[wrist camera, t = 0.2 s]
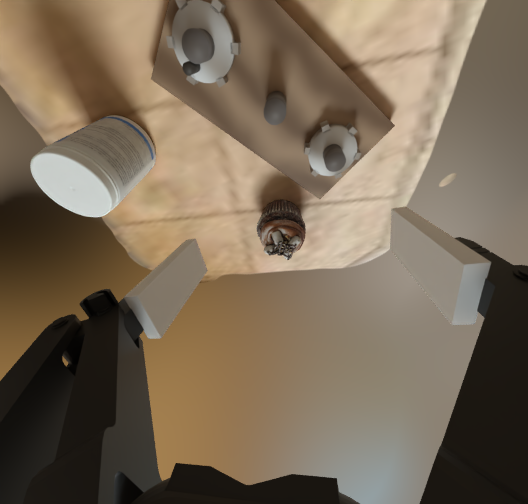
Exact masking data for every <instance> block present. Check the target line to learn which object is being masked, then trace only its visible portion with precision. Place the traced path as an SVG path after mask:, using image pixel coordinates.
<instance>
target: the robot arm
mask: <svg viewBox="0 0 528 504" xmlns="http://www.w3.org/2000/svg"><path fill="white" fill-rule="evenodd" d="M390 250H391V251H392V252H393V253H394V255H395V256H396V257H397V258H398V260H399V261H400V262H401V263H402V264H403V266H404V267H405V268H406V269H407V271H408V272H409V273H410V274H411V276H412V277H413V278H414V279H415V280H416V282H417V283H418V284H419V285H420V287H421V288H422V289H423V290H424V292H425V293H426V294H427V295H428V296H429V298H430V299H431V300H432V301H433V303H434V304H435V305H436V306H437V308H438V309H439V310H440V311H441V312H442V313H443V315H444V316H445V317H446V318H447V320H448V321H449V322H450V323H451V325H462V324H475V321H476V317H477V313H478V312H479V313H480V314H481V315H482V316H484V318H485V319H484V322H483V325H482V327H481V330H480V333H479V336H478V339H477V342H476V345H475V348H474V351H473V354H472V357H471V360H470V362H469V366H468V368H467V371H466V374H465V377H464V380H463V383H462V386H461V389H460V392H459V395H458V398H457V400H456V404H455V406H454V409H453V412H452V415H451V418H450V421H449V424H448V427H447V430H446V433H445V436H444V438H443V441H442V444H441V446H440V448H439V450H438V453H437V456H436V459H435V461H434V464H433V467H432V470H431V473H430V475H429V478H428V481H427V484H426V487H425V491H424V493H423V496H422V499H421V501H420V504H528V266H525V265H512V264H510V263H509V262H507V261H505V260H504V259H502V258H500V257H499V256H497V255H495V254H494V253H492V252H491V253H490V251H489V250H487V249H485V248H482V246H480V245H478V244H477V243H475V242H474V241H471V240H467V239H464V238H461V237H458V238H453V237H452V236H450V235H449V234H447V233H446V232H444V231H443V230H441V229H439V228H438V227H436V226H435V225H433V224H432V223H430V222H429V221H427V220H426V219H424V218H422V217H421V216H419V215H418V214H416V213H415V212H413V211H412V210H410V209H409V208H407V207H400V208H393V209H392V213H391V238H390ZM206 272H207V268H206V265H205V262H204V260H203V257H202V254H201V252H200V249H199V246H198V244H197V241H196V239H190V240H186V241H185V242H184V243H182V244H181V245H180V246H179V247H178V248H177V249H176V250H175V251H174V252H173V253H172V254H170V255H169V256H168V257H167V258H166V259H165V260H164V261H163V262H162V263H161V264H160V265H158V266H157V267H156V268H155V269H154V270H153V271H152V272H151V273H150V274H149V275H148V276H146V277H145V278H144V279H143V280H142V281H141V282H140V283H139V284H138V285H137V286H136V287H134V288H133V289H132V290H131V291H130V292H129V293H128V294H127V295H126V296H125V297H124V298H123V299H122V300H121V301H120V302H119V303H118V301H117V300H116V298H115V297H114V295H113V294H112V292H111V290H110V289H104V290H100V291H98V292H95V293H93V294H91V295H89V296H88V297H86V298H85V299H84V300H83V301H81V303H80V306H81V307H82V309H83V310H84V311H85V313H86V314H87V315H88V317H89V319H87V320H84V321H79V319H78V318H77V316H76V315H73V314H71V315H67V316H65V317H61V318H59V319H57V320H55V321H54V322H53V323H52V324H50V325H49V326H48V327H47V328H45V330H44V331H43V332H42V333H41V334H40V335H39V336H38V338H37V339H36V340H35V341H34V342H33V343H32V345H31V346H30V347H29V348H28V349H27V351H26V352H25V353H24V354H23V355H22V356H21V357H20V359H19V360H18V361H17V362H16V363H15V364H14V366H13V367H12V368H11V369H10V370H9V371H8V373H7V374H6V375H5V376H4V377H3V379H2V380H1V381H0V504H359V503H358V502H356V501H355V500H353V499H352V498H350V497H348V496H346V495H344V494H341V493H340V492H339V491H338V485H337V478H327V477H317V476H306V475H296V474H291V475H287V476H283V477H280V478H276V479H272V480H269V481H265V482H261V483H257V484H253V485H245V484H243V483H241V482H239V481H237V480H235V479H233V478H231V477H229V476H228V475H226V474H224V473H222V472H220V471H218V470H216V469H214V468H212V467H211V466H200V465H191V464H180V463H176V464H175V467H174V469H173V472H172V475H171V477H170V478H168V479H166V480H164V481H162V480H161V478H160V475H159V471H158V466H157V458H156V449H155V441H154V433H153V424H152V417H151V408H150V401H149V392H148V384H147V375H146V368H145V359H144V351H143V342H142V340H141V338H140V337H139V335H140V334H141V333H142V332H143V330H144V332H145V333H146V335H147V337H148V338H149V339H152V338H162V336H163V335H164V333H165V332H166V330H167V329H168V328H169V326H170V325H171V323H172V322H173V320H174V319H175V317H176V316H177V314H178V313H179V311H180V310H181V308H182V307H183V306H184V304H185V303H186V301H187V300H188V298H189V297H190V295H191V294H192V292H193V291H194V289H195V288H196V286H197V285H198V284H199V282H200V281H201V279H202V278H203V276H204V275H205V273H206ZM62 356H63V357H64V358H65V359H66V360H67V361H68V365H67V367H66V366H65V365H64V363H63V361H62Z"/></svg>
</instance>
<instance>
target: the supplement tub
mask: <svg viewBox="0 0 528 504" xmlns="http://www.w3.org/2000/svg"><path fill="white" fill-rule="evenodd" d="M155 161H156V153H155V148H154V145H153V143H152V141H151V139H150V137H149V136H148V135H147V133H146V132H145V131H144V130H143V129H142V128H141V127H140V126H139V125H138V124H136V123H135V122H133V121H132V120H130V119H128V118H125V117H122V116H117V115H110V116H106V117H104V118H102V119H100V120H98V121H96V122H94V123H92V124H90V125H88V126H86V127H84V128H82V129H80V130H78V131H76V132H74V133H72V134H70V135H68V136H66V137H64V138H62V139H60V140H58V141H56V142H54V143H52V144H51V145H49V146H47V147H46V148H44V149H42V150H41V151H40V152H39V153H38V154H36V155H35V156H34V157H33V158H32V160H31V164H30V167H31V172H32V175H33V177H34V179H35V181H36V182H37V184H38V185H39V187H40V188H41V189H42V190H43V191H44V192H45V193H46V194H47V195H48V196H49V197H50V198H51V199H53V200H54V201H55V202H57V203H58V204H59V205H61V206H63V207H64V208H66V209H68V210H70V211H72V212H74V213H77V214H80V215H83V216H88V217H101V216H104V215H106V214H107V213H109V212H110V211H111V210H113V209H114V208H115V207H116V206H117V205H118V204H119V203H120V202H121V201H122V200H123V199H124V198H125V197H126V196H127V195H128V193H129V192H130V191H131V190H132V189H133V188H134V187H135V186H136V185H137V184H138V183H139V182H140V181H141V180H142V179H143V178H144V176H145V175H146V174H147V173H148V172H149V171H150V170H151V169H152V168H153V166H154V164H155Z"/></svg>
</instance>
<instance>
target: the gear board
mask: <svg viewBox="0 0 528 504" xmlns="http://www.w3.org/2000/svg"><path fill="white" fill-rule="evenodd" d="M151 79H152V80H153V81H154V82H156V83H157V84H159V85H160V86H161V87H163V88H164V89H166V90H167V91H168V92H170V93H171V94H173V95H174V96H175V97H177V98H178V99H180V100H181V101H182V102H184V103H185V104H187V105H188V106H189V107H191V108H192V109H194V110H195V111H196V112H198V113H199V114H201V115H202V116H203V117H205V118H206V119H208V120H209V121H211V122H212V123H213V124H215V125H216V126H218V127H219V128H220V129H222V130H223V131H225V132H226V133H227V134H229V135H230V136H232V137H233V138H234V139H236V140H237V141H239V142H240V143H241V144H243V145H244V146H246V147H247V148H248V149H250V150H251V151H253V152H254V153H255V154H257V155H258V156H260V157H261V158H262V159H264V160H265V161H267V162H268V163H269V164H271V165H272V166H274V167H275V168H277V169H278V170H279V171H281V172H282V173H284V174H285V175H286V176H288V177H289V178H291V179H292V180H293V181H295V182H296V183H298V184H299V185H300V186H302V187H303V188H305V189H306V190H307V191H309V192H310V193H312V194H313V195H314V196H316V197H317V198H319V199H321V198H322V197H323V196H324V195H325V194H326V193H327V192H328V191H329V190H330V189H331V188H332V187H333V186H334V185H335V184H336V183H337V182H338V181H339V180H340V179H341V178H342V177H343V176H344V175H345V174H346V173H347V172H348V171H349V170H350V169H351V168H352V167H353V166H354V165H355V164H356V163H357V162H358V161H359V160H360V159H361V158H362V157H363V156H364V155H366V154H367V153H368V152H369V151H370V150H371V149H372V148H373V147H374V146H375V145H376V144H377V143H378V142H379V141H380V140H381V139H382V138H383V137H384V136H385V135H386V134H387V133H388V132H389V131H390V130H391V129H392V128H393V127H394V126H395V125H394V124H393V123H392V122H391V121H390V120H389V119H388V118H387V117H386V116H385V115H384V114H383V113H382V112H381V111H380V110H379V109H378V108H377V107H376V105H375V104H374V103H373V102H372V101H371V100H370V99H369V98H368V97H367V96H366V95H365V94H364V93H363V92H362V91H361V90H360V89H359V88H358V87H357V86H356V85H355V84H354V83H353V82H352V80H351V79H350V78H349V77H348V76H347V75H346V74H345V73H344V72H343V71H342V70H341V69H340V68H339V67H338V66H337V65H336V64H335V63H334V62H333V61H332V60H331V59H330V58H329V56H328V55H327V54H326V53H325V52H324V51H323V50H322V49H321V48H320V47H319V46H318V45H317V44H316V43H315V42H314V41H313V40H312V39H311V38H310V37H309V36H308V35H307V34H306V33H305V31H304V30H303V29H302V28H301V27H300V26H299V25H298V24H297V23H296V22H295V21H294V20H293V19H292V18H291V17H290V16H289V15H288V14H287V13H286V12H285V11H284V10H283V9H282V7H281V6H280V5H279V4H278V3H277V2H276V1H275V0H169V4H168V9H167V13H166V17H165V21H164V26H163V30H162V34H161V39H160V43H159V47H158V51H157V56H156V60H155V64H154V68H153V73H152V77H151Z"/></svg>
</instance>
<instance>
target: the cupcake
mask: <svg viewBox="0 0 528 504" xmlns="http://www.w3.org/2000/svg"><path fill="white" fill-rule="evenodd" d="M257 224H258V225H257V232H258V233H257V234H258V236H259V237H260V240H261V243H262V245H263V246H264V247H265V248H264V252H265V253H266V254H269V255H275V254H278V255H279V256H280V255H284V258H285V259H287V260H289V259H290V258H291V257H292V254H293V253H295V252H296V251H298V250H299V249H300V248H301V246H302V244H303V242H304V239H305V234H306V233H305V230H306V229H305V223H304V221H303V219H302V216H301V214H300V211H299V209H298V208H297V207H296V206H295V205H294V204H293V203H291V202H290V201H285V200H277V201H274V202H271V203H270V204H268V205H267V206H266V208H265V209H264V211H263V213H262V215H261V217H260V219H259V221H258V223H257Z"/></svg>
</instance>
